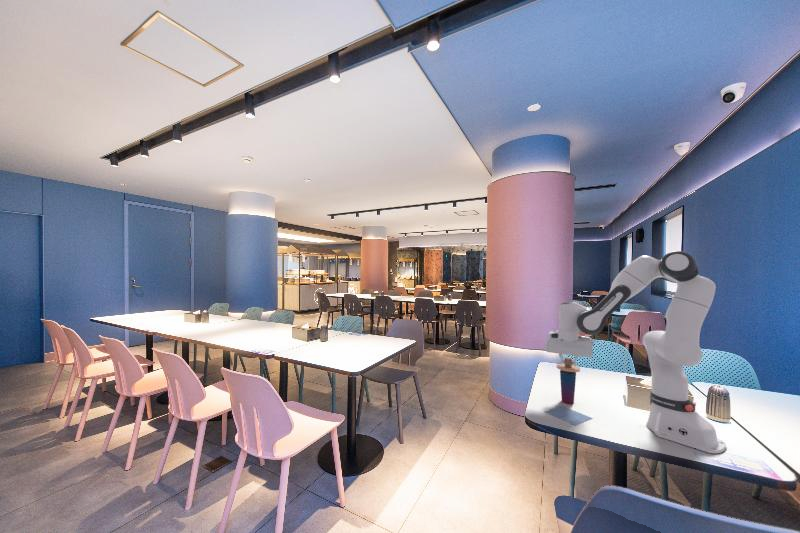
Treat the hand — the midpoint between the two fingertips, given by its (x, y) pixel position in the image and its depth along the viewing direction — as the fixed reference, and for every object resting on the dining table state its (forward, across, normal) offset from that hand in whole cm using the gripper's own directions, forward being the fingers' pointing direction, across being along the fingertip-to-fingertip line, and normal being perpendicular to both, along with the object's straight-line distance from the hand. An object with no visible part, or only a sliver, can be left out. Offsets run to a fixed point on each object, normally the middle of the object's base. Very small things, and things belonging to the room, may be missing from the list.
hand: (568, 363), depth 147 cm
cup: (+19, 0, 0) cm, 19 cm away
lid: (+2, 0, 0) cm, 2 cm away
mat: (+19, 0, +15) cm, 24 cm away
